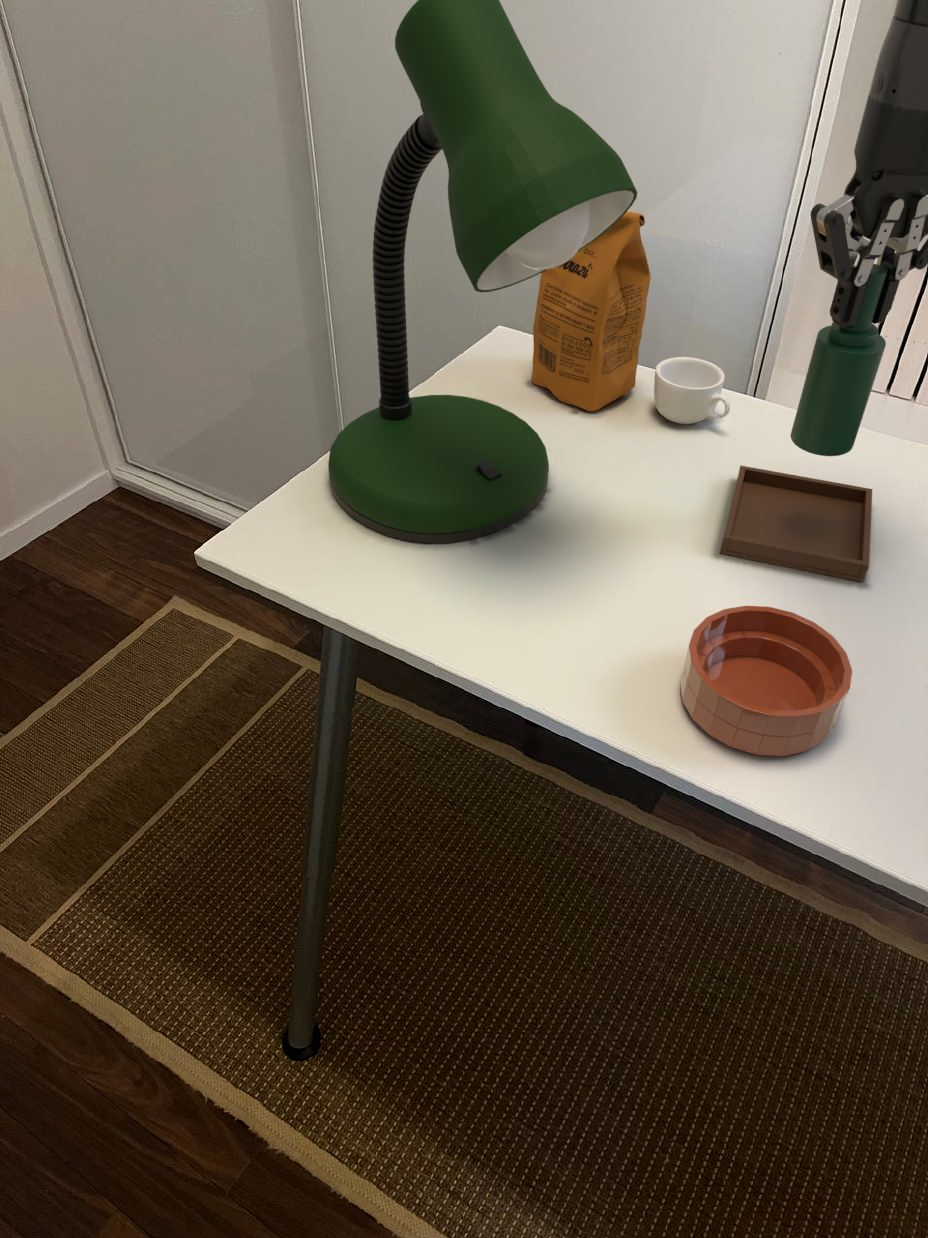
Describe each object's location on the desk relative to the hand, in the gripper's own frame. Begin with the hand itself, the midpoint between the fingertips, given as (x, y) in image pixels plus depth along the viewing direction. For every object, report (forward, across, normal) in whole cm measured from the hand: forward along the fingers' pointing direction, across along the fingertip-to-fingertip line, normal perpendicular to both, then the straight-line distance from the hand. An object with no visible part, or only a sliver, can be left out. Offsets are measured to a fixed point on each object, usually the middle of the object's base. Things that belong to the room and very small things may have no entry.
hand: (857, 321), depth 79 cm
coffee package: (+22, -8, +34) cm, 41 cm away
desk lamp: (+22, -29, +17) cm, 40 cm away
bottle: (+12, 0, 0) cm, 12 cm away
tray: (+22, 0, 0) cm, 22 cm away
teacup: (+22, +1, +22) cm, 31 cm away
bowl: (+22, -17, -19) cm, 33 cm away
